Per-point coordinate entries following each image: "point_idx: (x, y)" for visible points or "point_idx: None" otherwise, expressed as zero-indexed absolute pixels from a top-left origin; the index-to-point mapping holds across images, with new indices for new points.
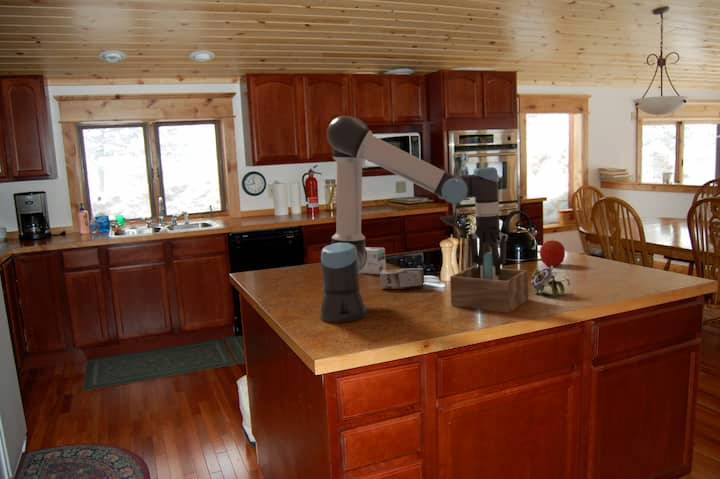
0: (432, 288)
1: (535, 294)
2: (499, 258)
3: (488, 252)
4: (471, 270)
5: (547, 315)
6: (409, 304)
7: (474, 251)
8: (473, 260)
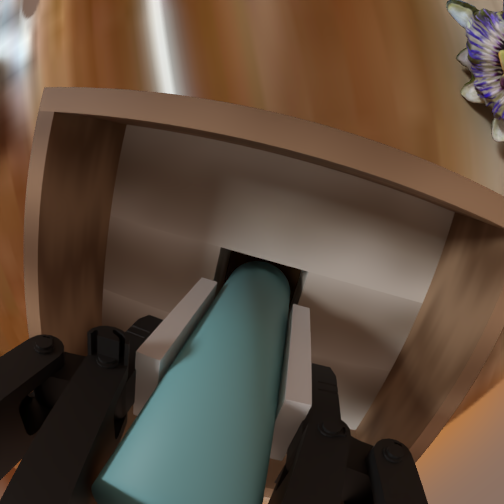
0: (2, 96)
1: (462, 94)
2: (339, 484)
3: (133, 482)
4: (56, 165)
5: (475, 398)
6: (11, 319)
7: (3, 474)
8: (47, 407)
